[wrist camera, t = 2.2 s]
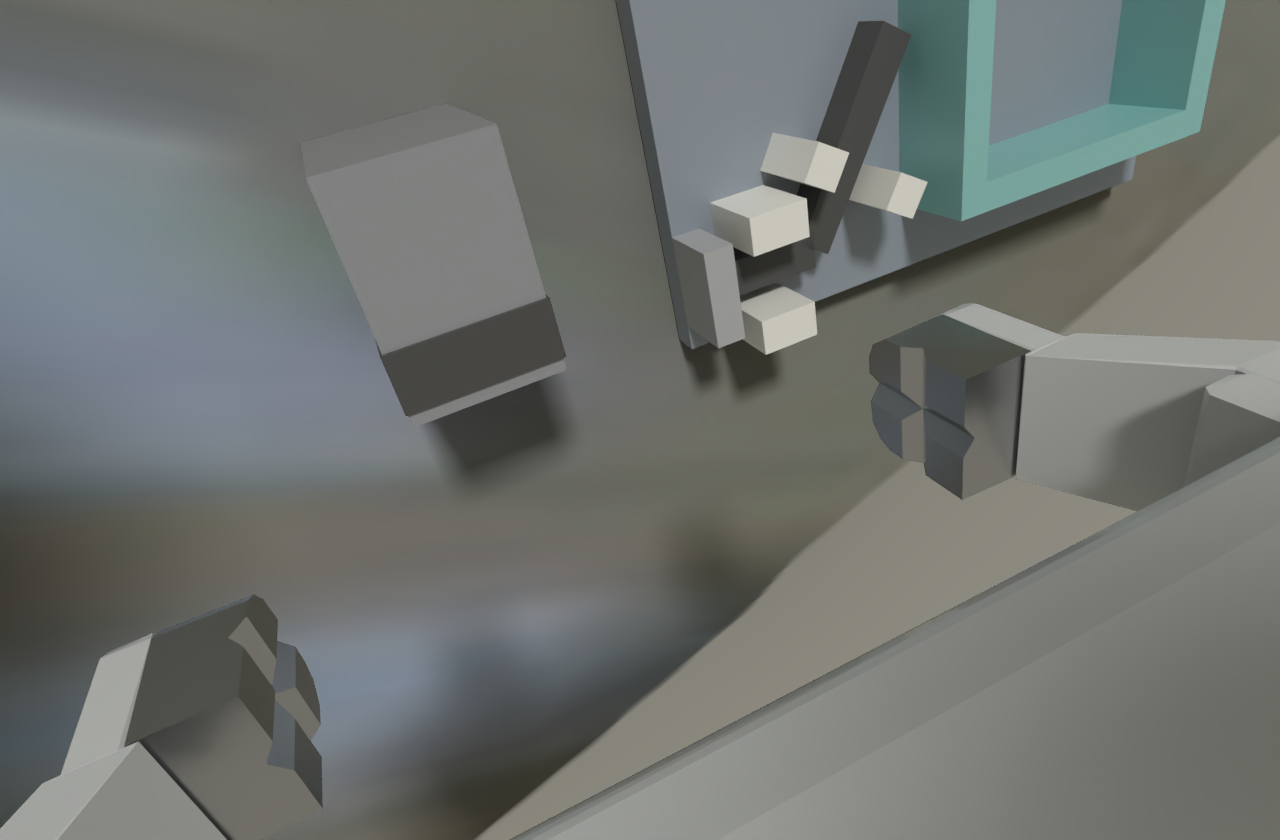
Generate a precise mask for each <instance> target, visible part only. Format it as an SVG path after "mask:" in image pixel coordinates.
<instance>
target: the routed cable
mask: <svg viewBox="0 0 1280 840" xmlns="http://www.w3.org/2000/svg"><path fill="white" fill-rule="evenodd" d="M910 38H911V34H909V33H907V32H905V31H903V30H901V29H899V28H897V27H895V26H893V25H891V24H889V23H887V22H885V21H858V24H857V27H856V29H855V32H854V35H853V38H852V41H851V44H850V46H849V49H848V52H847V55H846V58H845V60H844V63H843V66H842V69H841V72H840V74H839V77H838V80H837V83H836V86H835V88H834V91H833V94H832V97H831V100H830V103H829V105H828V108H827V111H826V114H825V117H824V119H823V122H822V125H821V128H820V131H819V133H818V136H817V139H816V141H818V142H821V143H824V144H827V145H829V146H832V147H835V148H838V149H840V150H843V151H846V152H849V155H848V158H847V161H846V163H845V166H844V169H843V172H842V174H841V177H840V180H839V182H838V185H837V188H836V191H835V193H833V192H830V191H826V190H823V189H819V188H816V187H812V186H809V185H805V184H802V183H801V184H800V187H799V190H798V192H797V196H800V197H803V198H806V199H807V209H808V222H809V235H810V237H808V238H805V239H802V240H799V241H797V242H794V243H791V244H788V245H785V246H783V247H780V248H777V249H774V250H772V251H769V252H766V253H763V254H761V255H758V256H755V257H753V256H751V255H749V254H747V253H745V252H743V251H741V250H738V249H736V248H734V247H733V250H734V257H735V265H736V272H737V279H738V287H739V294H740V296H741V295H743V294H746V293H749V292H751V291H754V290H757V289H759V288H762V287H765V286H767V285H770V284H773V283H775V282H778V281H781V280H783V279H786V278H789V277H792V276H794V275H797V274H800V273H802V272H805V271H808V270H810V269H813V268H816V260H815V251H818V252H822V253H826V254H829V251H830V248H831V246H832V243H833V240H834V238H835V235H836V232H837V230H838V227H839V225H840V222H841V219H842V217H843V214H844V211H845V209H846V206H847V204H848V201H849V198H850V196H851V193H852V190H853V188H854V185H855V182H856V180H857V177H858V175H859V172H860V169H861V167H862V164H863V161H864V159H865V156H866V154H867V151H868V148H869V146H870V143H871V140H872V138H873V135H874V133H875V130H876V127H877V125H878V122H879V119H880V117H881V114H882V111H883V109H884V106H885V104H886V101H887V98H888V96H889V93H890V90H891V88H892V85H893V83H894V80H895V77H896V75H897V72H898V69H899V67H900V64H901V61H902V59H903V56H904V54H905V51H906V48H907V46H908V43H909V40H910Z"/></svg>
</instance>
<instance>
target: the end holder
mask: <svg viewBox="0 0 1280 840" xmlns="http://www.w3.org/2000/svg"><path fill="white" fill-rule="evenodd" d="M1225 1H1226V0H1122V6H1121V14H1120V21H1119V29H1118V37H1117V44H1116V52H1115V59H1114V67H1113V74H1112V82H1111V90H1110V97H1109V104H1107V105H1104V106H1101V107H1098V108H1095V109H1092V110H1089V111H1087V112H1084V113H1081V114H1078V115H1075V116H1072V117H1069V118H1067V119H1064V120H1061V121H1058V122H1055V123H1052V124H1049V125H1047V126H1044V127H1041V128H1038V129H1035V130H1032V131H1029V132H1027V133H1024V134H1021V135H1018V136H1015V137H1012V138H1009V139H1007V140H1004V141H1001V142H998V143H995V144H992V145H989V131H990V112H991V93H992V74H993V55H994V36H995V17H996V0H898V28H899V29H901V30H903V31H905V32H907V33H909V34H911V38H910V40H909V43H908V46H907V48H906V51H905V54H904V56H903V59H902V61H901V64H900V67H899V69H898V84H899V172H902V173H904V174H907V175H910V176H913V177H915V178H918V179H921V180H924V181H926V182H927V185H926V187H925V190H924V192H923V195H922V197H921V200H920V202H919V205H918V207H917V209H918V210H922V211H925V212H929V213H933V214H936V215H940V216H943V217H947V218H951V219H954V220H958V221H964V220H966V219H969V218H972V217H974V216H977V215H980V214H982V213H985V212H988V211H990V210H993V209H996V208H998V207H1001V206H1004V205H1006V204H1009V203H1012V202H1014V201H1017V200H1019V199H1022V198H1025V197H1027V196H1030V195H1033V194H1035V193H1038V192H1041V191H1043V190H1046V189H1049V188H1051V187H1054V186H1057V185H1059V184H1062V183H1065V182H1067V181H1070V180H1073V179H1075V178H1078V177H1080V176H1083V175H1086V174H1088V173H1091V172H1094V171H1096V170H1099V169H1102V168H1104V167H1107V166H1110V165H1112V164H1115V163H1118V162H1120V161H1123V160H1126V159H1128V158H1131V157H1134V156H1136V155H1139V154H1142V153H1144V152H1147V151H1149V150H1152V149H1155V148H1157V147H1160V146H1163V145H1165V144H1168V143H1171V142H1173V141H1176V140H1179V139H1181V138H1184V137H1187V136H1189V135H1192V134H1195V133H1197V132H1200V128H1201V123H1202V118H1203V113H1204V108H1205V103H1206V98H1207V93H1208V87H1209V82H1210V77H1211V72H1212V67H1213V62H1214V57H1215V52H1216V47H1217V42H1218V37H1219V32H1220V27H1221V22H1222V17H1223V12H1224V7H1225Z"/></svg>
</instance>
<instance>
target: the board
mask: <svg viewBox="0 0 1280 840" xmlns="http://www.w3.org/2000/svg"><path fill="white" fill-rule="evenodd" d="M616 4H617V9H618V14H619V20H620V25H621V30H622V36H623V41H624V46H625V52H626V57H627V62H628V68H629V73H630V78H631V83H632V89H633V94H634V99H635V105H636V110H637V115H638V121H639V126H640V131H641V137H642V142H643V147H644V153H645V158H646V163H647V169H648V174H649V179H650V184H651V190H652V195H653V200H654V206H655V211H656V216H657V222H658V227H659V232H660V238H661V243H662V248H663V254H664V259H665V264H666V270H667V275H668V280H669V285H670V291H671V296H672V301H673V307H674V312H675V317H676V323H677V328H678V333H679V339H680V341H682V342H683V343H684V344H686V345H687V346H688V347H690V348H691V349H695V348H697V347H700V346H702V345H705V344H708V343H711V344H713V345H714V346H716V347H717V348H718V349H719V348H721V347H724V346H726V345H729V344H731V343H734V342H737V341H739V340H742V339H743V340H744V341H746V342H747V343H749V344H750V345H752V346H753V347H755V348H756V349H758V350H759V351H761V352H762V353H764V354H765V355H767V354H769V353H772V352H774V351H777V350H779V349H782V348H784V347H787V346H789V345H792V344H794V343H797V342H799V341H802V340H804V339H807V338H809V337H812V336H814V335H817V326H816V313H815V302H816V301H819V300H821V299H824V298H826V297H829V296H832V295H834V294H837V293H839V292H842V291H845V290H847V289H850V288H852V287H855V286H857V285H860V284H863V283H865V282H868V281H870V280H873V279H876V278H878V277H881V276H883V275H886V274H888V273H891V272H894V271H896V270H899V269H901V268H904V267H907V266H909V265H912V264H914V263H917V262H919V261H922V260H925V259H927V258H930V257H932V256H935V255H938V254H940V253H943V252H945V251H948V250H951V249H953V248H956V247H958V246H961V245H963V244H966V243H969V242H971V241H974V240H976V239H979V238H982V237H984V236H987V235H989V234H992V233H994V232H997V231H1000V230H1002V229H1005V228H1007V227H1010V226H1013V225H1015V224H1018V223H1020V222H1023V221H1025V220H1028V219H1031V218H1033V217H1036V216H1038V215H1041V214H1044V213H1046V212H1049V211H1051V210H1054V209H1056V208H1059V207H1062V206H1064V205H1067V204H1069V203H1072V202H1075V201H1077V200H1080V199H1082V198H1085V197H1088V196H1090V195H1093V194H1095V193H1098V192H1100V191H1103V190H1106V189H1108V188H1111V187H1113V186H1116V185H1119V184H1121V183H1124V182H1126V181H1129V180H1131V179H1133V172H1134V166H1135V160H1136V156H1134V157H1131V158H1128V159H1126V160H1123V161H1120V162H1118V163H1115V164H1112V165H1110V166H1107V167H1104V168H1102V169H1099V170H1096V171H1094V172H1091V173H1088V174H1086V175H1083V176H1080V177H1078V178H1075V179H1073V180H1070V181H1067V182H1065V183H1062V184H1059V185H1057V186H1054V187H1051V188H1049V189H1046V190H1043V191H1041V192H1038V193H1035V194H1033V195H1030V196H1027V197H1025V198H1022V199H1019V200H1017V201H1014V202H1012V203H1009V204H1006V205H1004V206H1001V207H998V208H996V209H993V210H990V211H988V212H985V213H982V214H980V215H977V216H974V217H972V218H969V219H966V220H964V221H958V220H954V219H951V218H947V217H943V216H940V215H936V214H933V213H929V212H925V211H922V210H918V209H917V207H918V205H919V202H920V200H921V197H922V195H923V192H924V190H925V187H926V185H927V182H926V181H924V180H921V179H918V178H915V177H913V176H910V175H907V174H904V173H902V172H899V84H898V72H897V75H896V77H895V80H894V83H893V85H892V88H891V90H890V93H889V96H888V98H887V101H886V104H885V106H884V109H883V111H882V114H881V117H880V119H879V122H878V125H877V127H876V130H875V133H874V135H873V138H872V140H871V143H870V146H869V148H868V151H867V154H866V156H865V159H864V161H863V164H862V167H861V169H860V172H859V175H858V177H857V180H856V182H855V185H854V188H853V190H852V193H851V196H850V198H849V201H848V204H847V206H846V209H845V211H844V214H843V217H842V219H841V222H840V225H839V227H838V230H837V232H836V235H835V238H834V240H833V243H832V246H831V248H830V251H829V254H826V253H822V252H818V251H815V260H816V268H813V269H810V270H808V271H805V272H802V273H800V274H797V275H794V276H792V277H789V278H786V279H783V280H781V281H778V282H775V283H773V284H770V285H767V286H765V287H762V288H759V289H757V290H754V291H751V292H749V293H746V294H743V295H741V296H740V294H739V287H738V279H737V272H736V265H735V257H734V250H733V247H734V248H736V249H738V250H741V251H743V252H745V253H747V254H749V255H751V256H753V257H755V256H758V255H761V254H763V253H766V252H769V251H772V250H774V249H777V248H780V247H783V246H785V245H788V244H791V243H794V242H797V241H799V240H802V239H805V238H808V237H810V235H809V222H808V209H807V199H806V198H803V197H800V196H797V192H798V190H799V187H800V184H801V183H802V184H805V185H809V186H812V187H816V188H819V189H823V190H826V191H830V192H833V193H835V191H836V188H837V185H838V182H839V180H840V177H841V174H842V172H843V169H844V166H845V163H846V161H847V158H848V155H849V152H846V151H843V150H840V149H838V148H835V147H832V146H829V145H827V144H824V143H821V142H818V141H816V139H817V136H818V133H819V131H820V128H821V125H822V122H823V119H824V117H825V114H826V111H827V108H828V105H829V103H830V100H831V97H832V94H833V91H834V88H835V86H836V83H837V80H838V77H839V74H840V72H841V69H842V66H843V63H844V60H845V58H846V55H847V52H848V49H849V46H850V44H851V41H852V38H853V35H854V32H855V29H856V27H857V24H858V21H885V22H887V23H889V24H891V25H893V26H895V27H897V28H898V0H616ZM1121 6H1122V0H996V17H995V36H994V55H993V74H992V93H991V112H990V131H989V145H992V144H995V143H998V142H1001V141H1004V140H1007V139H1009V138H1012V137H1015V136H1018V135H1021V134H1024V133H1027V132H1029V131H1032V130H1035V129H1038V128H1041V127H1044V126H1047V125H1049V124H1052V123H1055V122H1058V121H1061V120H1064V119H1067V118H1069V117H1072V116H1075V115H1078V114H1081V113H1084V112H1087V111H1089V110H1092V109H1095V108H1098V107H1101V106H1104V105H1107V104H1109V97H1110V90H1111V82H1112V74H1113V67H1114V59H1115V52H1116V44H1117V37H1118V29H1119V21H1120V14H1121Z"/></svg>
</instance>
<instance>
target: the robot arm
mask: <svg viewBox="0 0 1280 840" xmlns="http://www.w3.org/2000/svg"><path fill="white" fill-rule="evenodd" d="M869 371H870V374H871V375H872V376H873V377H874V378H875V379H876V380H877V381H878V382H879V385H878V387H877V389H876V391H875V393H874V395H873V398H872V400H871V408H872V419H873V423H874V426H875V428H876V430H877V432H878V434H879V437H880V439H881V440H882V441H883V443H884V444H885V445H886V446H887V447H888V448H889V450H890V451H892V452H893V453H894V454H896V455H897V456H899V457H900V458H901V459H903V460H909V461H915V462H921V463H924V468H925V473H926V476H928V477H929V478H931V479H932V480H934V481H935V482H937V483H938V484H940V485H941V486H943V487H944V488H946V489H947V490H948V491H950V492H951V493H953V494H954V495H956V496H957V497H959V498H960V499H962V500H963V499H965V498H967V497H970V496H972V495H974V494H976V493H979V492H981V491H983V490H985V489H987V488H990V487H992V486H994V485H997V484H999V483H1001V482H1003V481H1006V480H1008V479H1010V478H1012V477H1015V476H1016V479H1017V480H1021V481H1025V482H1029V483H1032V484H1036V485H1040V486H1044V487H1048V488H1051V489H1055V490H1059V491H1062V492H1066V493H1070V494H1074V495H1078V496H1081V497H1085V498H1089V499H1093V500H1097V501H1100V502H1104V503H1108V504H1112V505H1115V506H1119V507H1123V508H1127V509H1131V510H1135V511H1137V512H1135V513H1133V514H1131V515H1129V516H1128V517H1126V518H1124V519H1122V520H1120V521H1118V522H1116V523H1114V524H1112V525H1110V526H1109V527H1107V528H1105V529H1103V530H1101V531H1099V532H1097V533H1095V534H1093V535H1091V536H1089V537H1088V538H1086V539H1084V540H1082V541H1080V542H1078V543H1076V544H1074V545H1072V546H1070V547H1068V548H1067V549H1065V550H1063V551H1061V552H1059V553H1057V554H1055V555H1053V556H1051V557H1049V558H1047V559H1045V560H1044V561H1042V562H1039V563H1038V564H1036V565H1034V566H1032V567H1030V568H1028V569H1026V570H1024V571H1022V572H1020V573H1018V574H1017V575H1015V576H1013V577H1011V578H1009V579H1007V580H1005V581H1003V582H1001V583H999V584H997V585H995V586H993V587H991V588H990V589H988V590H986V591H984V592H982V593H980V594H978V595H976V596H974V597H972V598H971V599H969V600H967V601H965V602H963V603H961V604H959V605H957V606H955V607H953V608H951V609H949V610H947V611H945V612H944V613H942V614H940V615H938V616H936V617H934V618H932V619H930V620H929V621H926V622H924V623H922V624H920V625H919V626H917V627H915V628H913V629H911V630H909V631H907V632H905V633H903V634H901V635H899V636H898V637H896V638H894V639H892V640H890V641H888V642H886V643H884V644H882V645H880V646H878V647H877V648H875V649H873V650H871V651H869V652H867V653H865V654H863V655H861V656H859V657H858V658H856V659H854V660H852V661H850V662H848V663H846V664H844V665H842V666H840V667H838V668H836V669H835V670H833V671H831V672H829V673H827V674H825V675H823V676H821V677H819V678H817V679H816V680H814V681H812V682H810V683H808V684H806V685H804V686H802V687H800V688H798V689H796V690H795V691H793V692H791V693H789V694H787V695H785V696H783V697H781V698H779V699H777V700H775V701H774V702H772V703H770V704H768V705H766V706H764V707H762V708H760V709H758V710H756V711H754V712H752V713H751V714H749V715H747V716H745V717H743V718H741V719H739V720H737V721H736V722H733V723H732V724H730V725H728V726H726V727H724V728H722V729H720V730H718V731H716V732H714V733H712V734H710V735H709V736H707V737H705V738H703V739H701V740H699V741H697V742H695V743H693V744H692V745H690V746H688V747H686V748H684V749H682V750H680V751H678V752H676V753H674V754H672V755H670V756H668V757H667V758H665V759H663V760H661V761H659V762H657V763H655V764H653V765H651V766H649V767H648V768H646V769H644V770H642V771H640V772H638V773H636V774H634V775H632V776H631V777H628V778H627V779H625V780H623V781H621V782H619V783H617V784H615V785H613V786H611V787H609V788H607V789H605V790H604V791H602V792H600V793H598V794H596V795H594V796H592V797H590V798H588V799H586V800H584V801H583V802H581V803H579V804H577V805H575V806H573V807H571V808H569V809H567V810H565V811H563V812H562V813H560V814H558V815H556V816H554V817H552V818H550V819H548V820H546V821H544V822H542V823H541V824H539V825H537V826H535V827H533V828H531V829H529V830H527V831H525V832H523V833H522V834H520V835H518V836H516V837H514V838H512V839H510V840H1280V341H1260V340H1233V339H1209V338H1183V337H1182V338H1181V337H1158V336H1157V337H1156V336H1133V335H1106V334H1081V333H1074V334H1072V335H1070V336H1067V337H1064V336H1062V335H1059V334H1056V333H1054V332H1051V331H1048V330H1046V329H1043V328H1040V327H1038V326H1035V325H1032V324H1029V323H1027V322H1024V321H1021V320H1019V319H1016V318H1013V317H1011V316H1008V315H1005V314H1003V313H1000V312H997V311H995V310H992V309H989V308H986V307H984V306H981V305H978V304H976V303H975V304H962V305H960V306H958V307H956V308H954V309H951V310H949V311H947V312H945V313H943V314H940V315H938V316H936V317H934V318H933V319H930V320H928V321H926V322H923V323H921V324H919V325H916V326H914V327H912V328H909V329H907V330H905V331H903V332H900V333H898V334H896V335H893V336H891V337H889V338H886V339H884V340H882V341H879V342H877V343H875V344H873V346H872V349H871V352H870V355H869ZM277 627H278V619H277V618H276V617H275V615H274V614H273V612H272V611H271V610H270V608H269V607H268V605H267V604H266V603H265V601H264V600H263V599H262V598H260V597H258V596H256V595H251V596H249V597H246V598H243V599H241V600H238V601H236V602H233V603H230V604H228V605H225V606H223V607H220V608H217V609H215V610H212V611H210V612H207V613H204V614H202V615H199V616H197V617H194V618H191V619H189V620H186V621H184V622H181V623H178V624H176V625H173V626H171V627H168V628H165V629H163V630H160V631H159V632H158V633H152V634H149V635H147V636H144V637H142V638H140V639H137V640H135V641H132V642H130V643H128V644H125V645H123V646H120V647H118V648H116V649H113V650H111V651H109V652H108V653H107V654H105V655H104V656H103V657H101V658H100V660H99V662H98V665H97V668H96V671H95V674H94V677H93V680H92V682H91V685H90V688H89V691H88V694H87V697H86V700H85V703H84V706H83V709H82V712H81V715H80V718H79V721H78V724H77V727H76V730H75V733H74V736H73V739H72V742H71V745H70V747H69V750H68V753H67V756H66V759H65V762H64V765H63V768H62V771H61V774H60V776H58V777H56V778H53V779H51V780H49V781H47V782H44V783H42V784H41V785H40V787H39V788H38V789H37V790H36V791H35V792H34V793H33V794H32V795H31V796H30V797H29V798H28V799H27V801H26V802H25V803H24V804H23V805H22V806H21V807H20V808H19V809H18V810H17V811H16V812H15V813H14V814H13V816H12V817H11V818H10V819H9V820H8V821H7V822H6V823H5V824H4V825H3V826H2V827H1V828H0V840H262V839H264V838H266V837H268V836H270V835H272V834H274V833H275V832H277V831H279V830H281V829H283V828H285V827H287V826H289V825H291V824H293V823H295V822H297V821H299V820H301V819H303V818H305V817H307V816H309V815H311V814H313V813H314V812H316V811H318V810H320V809H322V808H323V805H322V757H321V755H320V754H319V752H318V751H317V750H316V748H315V747H314V745H313V744H312V742H311V740H312V738H313V736H314V735H315V733H316V731H317V730H318V728H319V727H320V725H321V723H320V704H319V700H318V696H317V692H316V688H315V685H314V681H313V678H312V676H311V674H310V672H309V670H308V667H307V665H306V663H305V661H304V660H303V658H302V656H301V655H300V653H299V652H298V650H297V649H296V647H294V646H291V645H288V644H285V643H282V642H279V641H277Z"/></svg>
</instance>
